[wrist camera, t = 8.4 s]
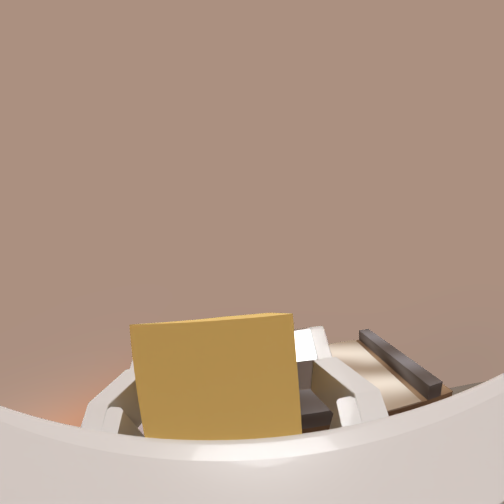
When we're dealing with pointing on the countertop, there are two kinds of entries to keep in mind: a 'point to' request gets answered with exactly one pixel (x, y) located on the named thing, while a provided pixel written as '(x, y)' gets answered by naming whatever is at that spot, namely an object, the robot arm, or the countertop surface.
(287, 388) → the lever bar
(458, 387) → the countertop surface
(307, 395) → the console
